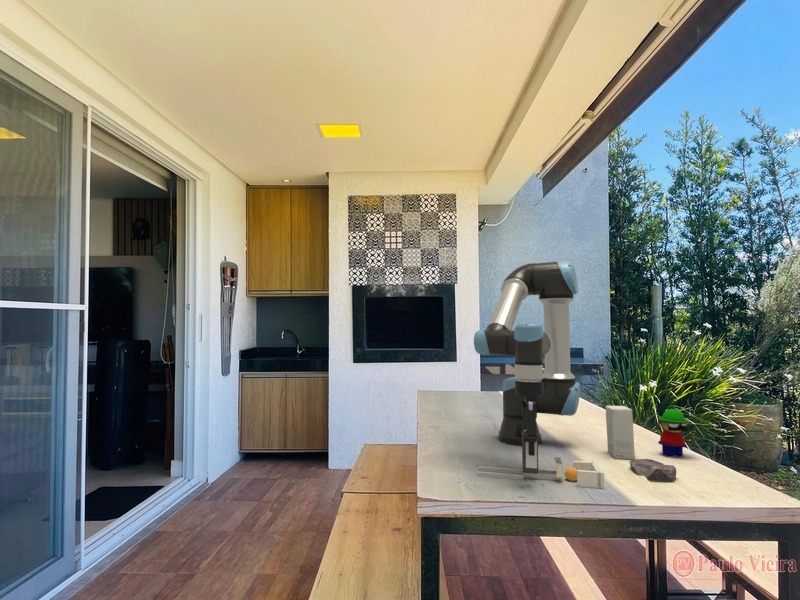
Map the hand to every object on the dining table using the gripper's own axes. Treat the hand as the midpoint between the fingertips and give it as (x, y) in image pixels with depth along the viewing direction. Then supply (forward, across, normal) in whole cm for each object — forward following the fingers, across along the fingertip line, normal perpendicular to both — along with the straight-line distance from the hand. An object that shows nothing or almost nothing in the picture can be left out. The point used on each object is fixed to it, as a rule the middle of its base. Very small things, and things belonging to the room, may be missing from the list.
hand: (530, 460), depth 122 cm
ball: (+3, 0, -10) cm, 11 cm away
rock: (+6, +12, -33) cm, 36 cm away
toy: (+6, +37, -46) cm, 59 cm away
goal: (+5, 0, -14) cm, 15 cm away
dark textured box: (+4, 0, -3) cm, 5 cm away
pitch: (+6, 0, -1) cm, 6 cm away
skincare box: (+6, +32, -29) cm, 44 cm away
